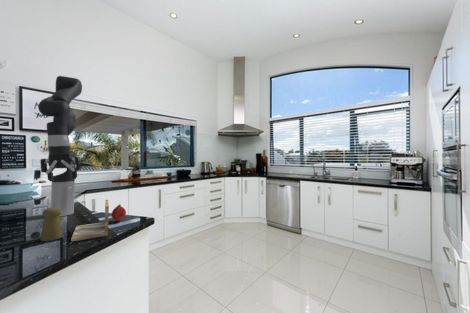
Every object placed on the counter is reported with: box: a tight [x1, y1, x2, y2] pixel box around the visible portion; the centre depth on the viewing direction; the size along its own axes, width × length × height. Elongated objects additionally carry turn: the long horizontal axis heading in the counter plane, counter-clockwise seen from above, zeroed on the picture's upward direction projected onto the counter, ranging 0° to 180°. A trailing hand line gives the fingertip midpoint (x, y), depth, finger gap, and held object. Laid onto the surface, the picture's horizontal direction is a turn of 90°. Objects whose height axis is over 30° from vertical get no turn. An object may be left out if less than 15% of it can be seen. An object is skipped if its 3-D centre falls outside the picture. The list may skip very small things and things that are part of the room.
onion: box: [111, 204, 127, 222], centre depth 95 cm, size 6×6×8 cm
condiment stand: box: [70, 199, 110, 242], centre depth 81 cm, size 16×11×11 cm
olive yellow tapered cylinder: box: [39, 207, 63, 242], centre depth 74 cm, size 6×6×11 cm
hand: (63, 180), depth 94 cm, fingers open, 8 cm apart
